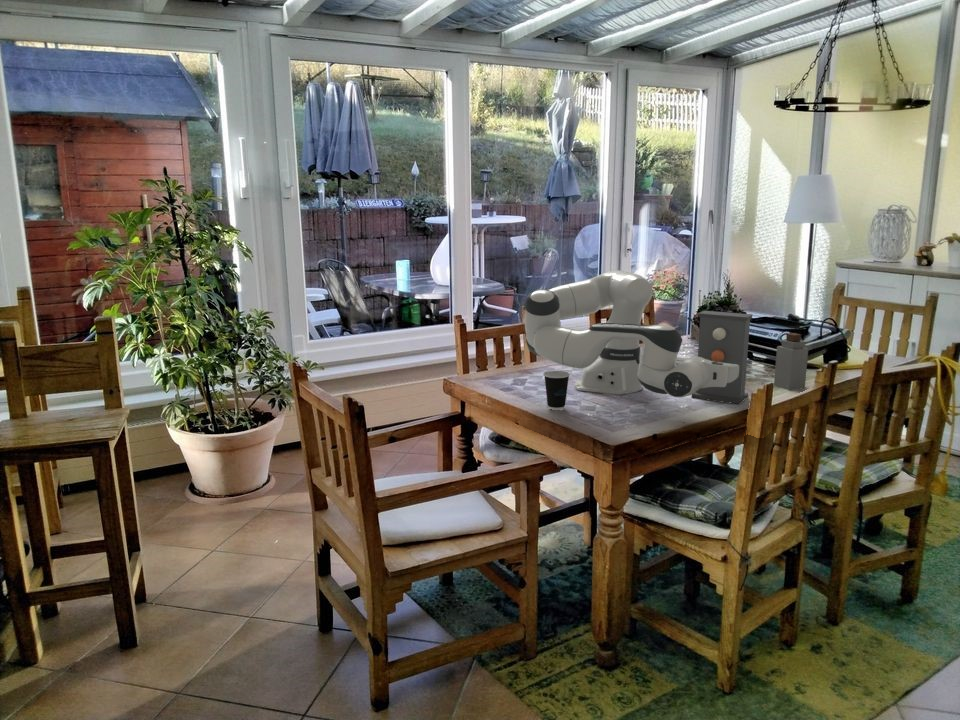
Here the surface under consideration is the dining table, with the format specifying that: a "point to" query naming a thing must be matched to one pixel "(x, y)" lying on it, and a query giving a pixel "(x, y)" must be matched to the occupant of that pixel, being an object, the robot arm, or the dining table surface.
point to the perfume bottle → (791, 363)
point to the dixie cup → (556, 388)
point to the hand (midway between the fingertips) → (709, 363)
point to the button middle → (718, 355)
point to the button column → (725, 351)
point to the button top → (719, 333)
